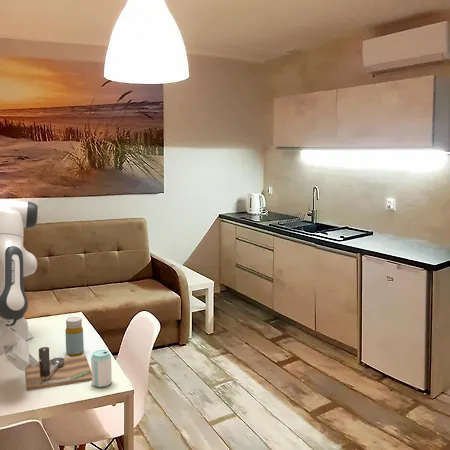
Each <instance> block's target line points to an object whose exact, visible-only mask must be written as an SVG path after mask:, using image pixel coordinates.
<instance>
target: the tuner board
mask: <svg viewBox="0 0 450 450" xmlns="http://www.w3.org/2000/svg"><path fill="white" fill-rule="evenodd" d="M62 358H63V359H64V365H63V366H62V367H59V368H57V369H56V371H55V372H54V373H53V374H52V375H51V376H50V378H49V379H48V380H40V368H39V361H37V366H36V367H33V366H31V365H28V366H27V367H26V368H25V379H26V392H28V391H34V390H35V391H36V390H40V389H46V388H52V387H53V388H55V387H60V386H65V385H66V386H67V385H74V384H78V383H85V382H92V370H91V367H90V364H89V361H88V359H87V356H86V354H84V355H83V354H81V355H79V356H68V357H62ZM50 361H51V359H50ZM50 365H51V363H50Z"/></svg>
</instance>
